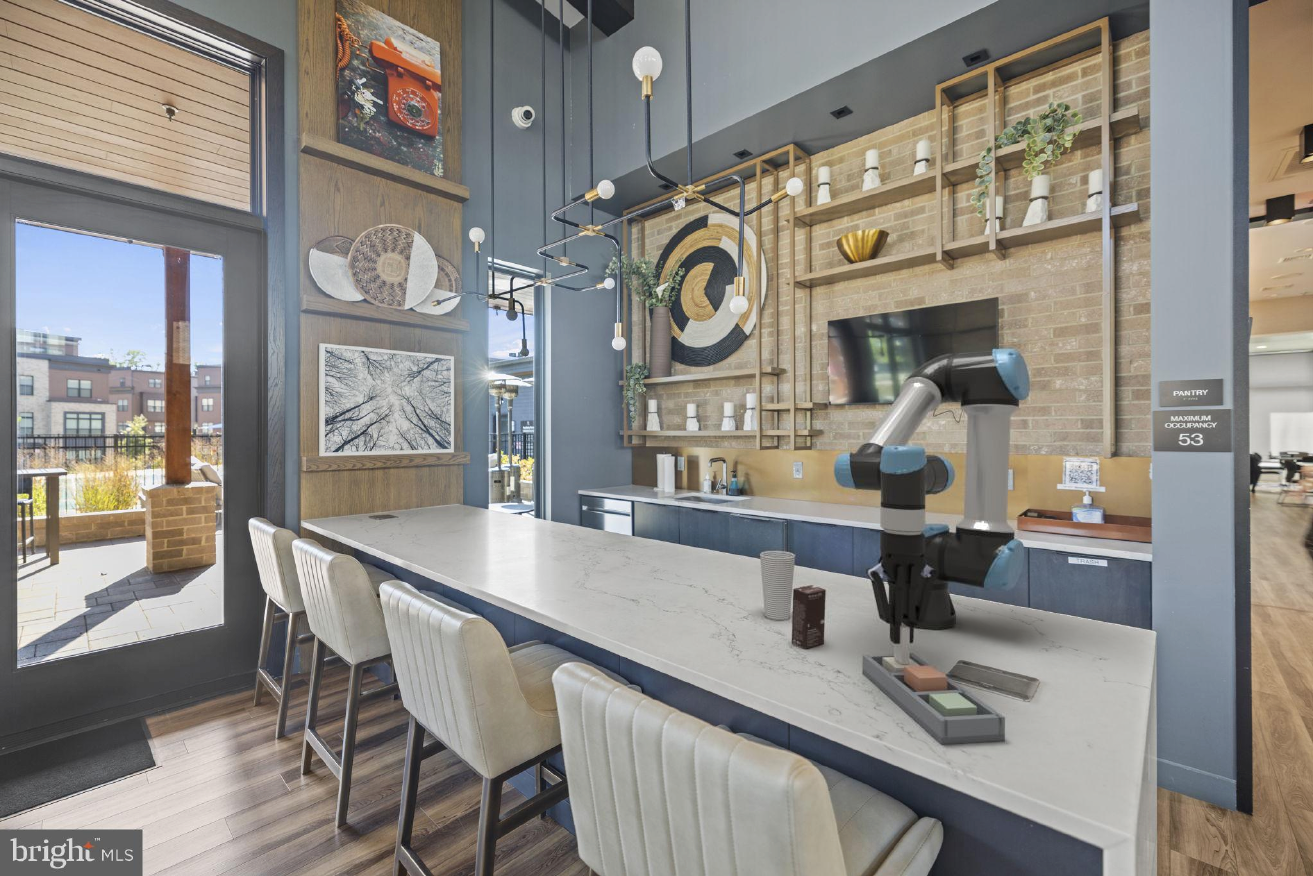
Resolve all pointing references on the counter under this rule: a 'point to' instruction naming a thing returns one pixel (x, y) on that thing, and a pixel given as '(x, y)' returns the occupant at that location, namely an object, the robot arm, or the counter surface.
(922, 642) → the counter surface
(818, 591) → the box
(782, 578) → the cup
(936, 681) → the key terracotta
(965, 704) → the key sage
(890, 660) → the key ivory
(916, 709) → the gray divided tray
